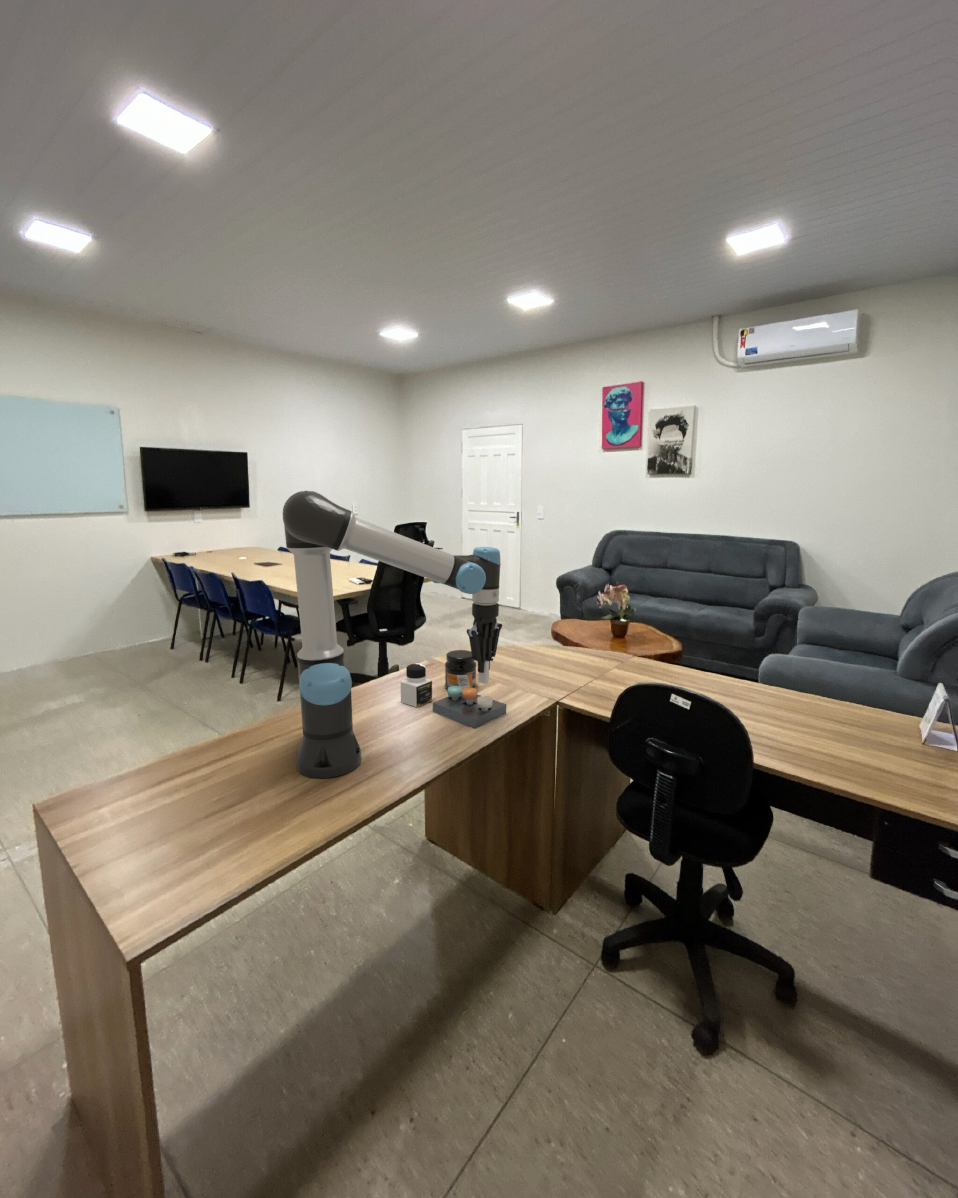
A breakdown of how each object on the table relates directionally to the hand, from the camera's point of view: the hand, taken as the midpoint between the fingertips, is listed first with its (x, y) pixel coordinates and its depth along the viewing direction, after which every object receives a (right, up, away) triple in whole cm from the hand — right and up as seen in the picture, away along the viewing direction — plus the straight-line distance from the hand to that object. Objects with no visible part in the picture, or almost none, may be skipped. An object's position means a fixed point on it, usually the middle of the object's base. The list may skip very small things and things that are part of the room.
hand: (483, 682), depth 155 cm
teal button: (-9, -8, +9) cm, 15 cm away
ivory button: (0, -10, +1) cm, 10 cm away
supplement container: (-7, -6, +25) cm, 27 cm away
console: (-4, -10, +5) cm, 12 cm away
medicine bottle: (-21, -8, +13) cm, 26 cm away
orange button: (-4, -8, +5) cm, 10 cm away
